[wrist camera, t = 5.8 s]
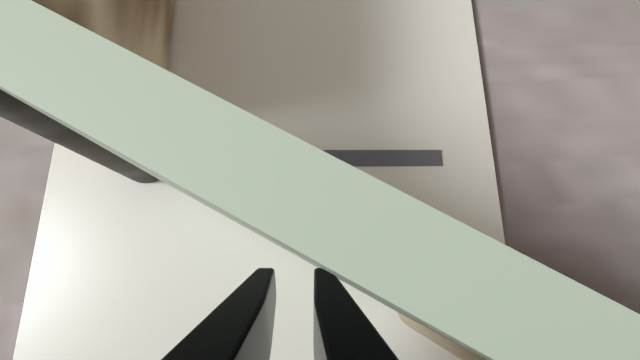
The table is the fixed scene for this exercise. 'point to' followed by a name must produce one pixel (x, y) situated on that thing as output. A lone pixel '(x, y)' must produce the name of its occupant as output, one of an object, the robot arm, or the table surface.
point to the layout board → (298, 120)
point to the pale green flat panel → (309, 200)
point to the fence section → (122, 29)
